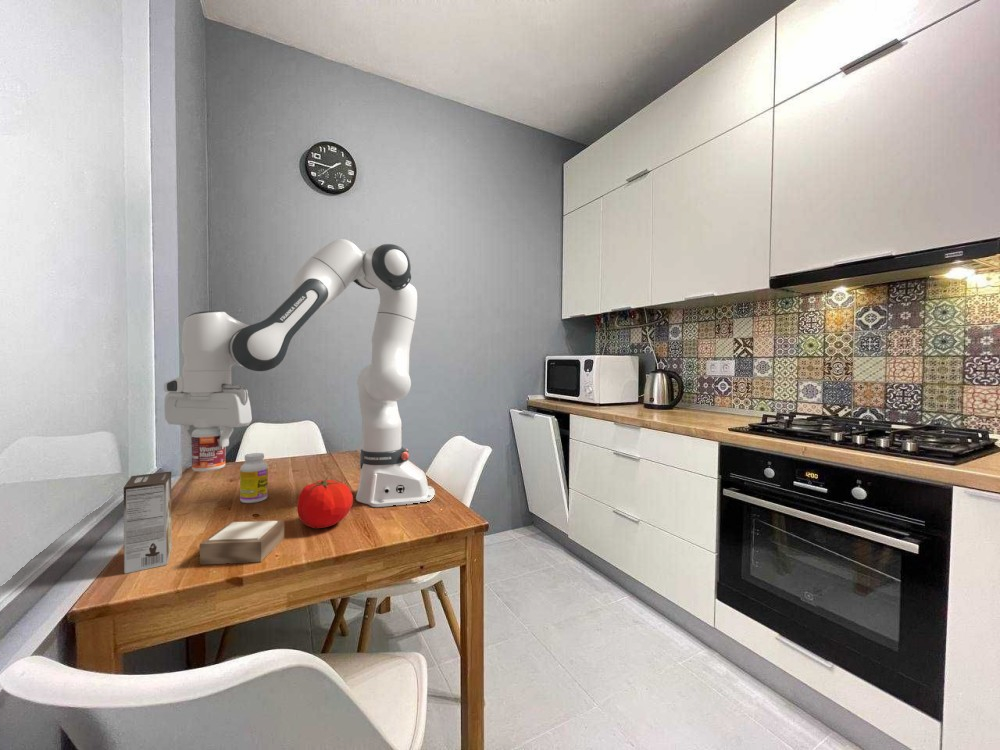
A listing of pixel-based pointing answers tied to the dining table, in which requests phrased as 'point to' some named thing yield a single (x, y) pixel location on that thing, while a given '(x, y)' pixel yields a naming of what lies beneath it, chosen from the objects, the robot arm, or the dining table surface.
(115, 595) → the dining table surface
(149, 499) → the coffee box
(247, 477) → the supplement bottle
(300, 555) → the dining table surface
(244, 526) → the base
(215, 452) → the pill bottle
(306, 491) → the tomato
